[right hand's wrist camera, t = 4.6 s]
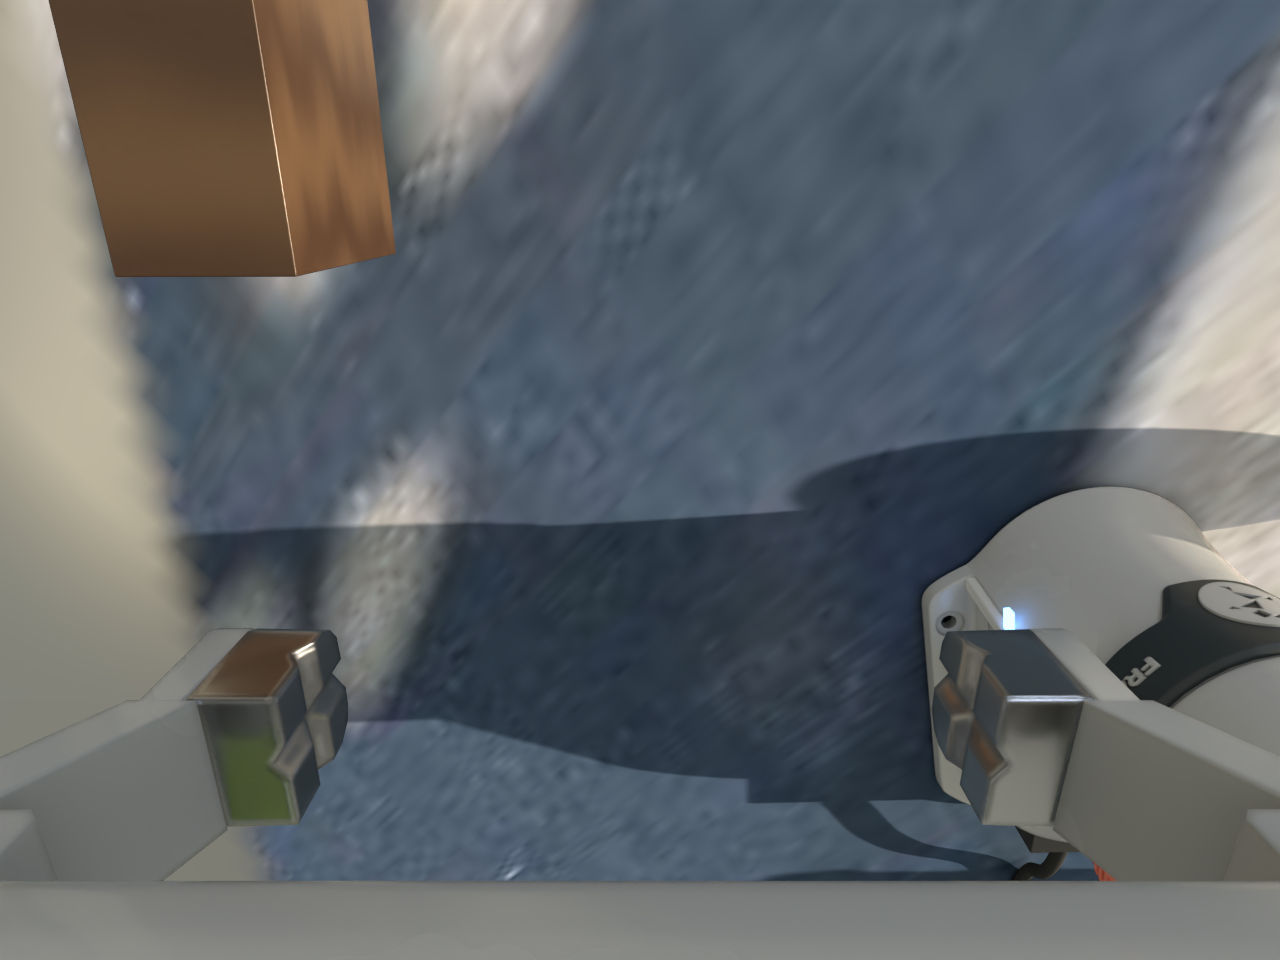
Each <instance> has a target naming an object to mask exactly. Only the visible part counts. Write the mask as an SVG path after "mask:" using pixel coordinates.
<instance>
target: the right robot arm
mask: <svg viewBox="0 0 1280 960" xmlns="http://www.w3.org/2000/svg"><path fill="white" fill-rule="evenodd" d="M922 615H923V627H924V640H925V652H926V665H927V678H928V690H929V703H930V715H931V728H932V741H933V753H934V765H935V775H936V779H937V782H938V783H939V785H940V786H941V788H942V789H943V791H944V792H946V793H947V794H949V795H950V796H952V797H954V798H956V799H957V800H959V801H962V802H964V803H966V804H969V805H971V806H972V808H973V809H974V811H975V813H976V815H977V817H978V818H979V820H980V822H981V824H982V825H1013V826H1015V827H1016V829H1017V830H1018V832H1019V834H1020V835H1021V837H1022V839H1023V841H1024V842H1025V844H1026V846H1027V847H1028V849H1029V851H1030V852H1031V853H1038V852H1049V854H1048V856H1047V858H1046V859H1045V861H1044V862H1043V863H1042V864H1041V865H1039V864H1036V863H1031V862H1029V863H1026V864H1025V865H1023V866H1022V867H1021V868H1020V869H1019V870H1018V872H1017V873H1016V874H1015V876H1014V877H1013V879H1012V881H164V880H165V879H166V878H167V877H169V876H170V875H171V874H172V873H174V872H175V871H176V870H177V869H179V868H180V867H181V866H183V865H184V864H185V863H186V862H188V861H189V860H190V859H191V858H193V857H194V856H195V855H197V854H198V853H199V852H200V851H202V850H203V849H204V848H205V847H207V846H208V845H209V844H210V843H212V842H213V841H214V840H216V839H217V838H218V837H219V836H221V835H222V834H223V833H225V832H226V831H227V827H230V826H265V825H298V824H299V822H300V820H301V819H302V817H303V815H304V813H305V811H306V809H307V808H308V806H309V804H310V802H311V800H312V799H313V797H314V795H315V793H316V791H317V790H318V788H319V786H320V780H319V774H318V769H320V768H322V767H323V766H325V765H326V764H328V763H329V762H331V761H332V760H334V758H335V756H336V754H337V753H338V751H339V749H340V747H341V745H342V743H343V738H344V734H345V730H346V726H347V721H348V701H347V694H346V687H345V686H344V685H343V684H342V683H341V682H340V681H339V680H338V679H337V678H336V677H335V676H334V675H333V674H332V672H333V670H334V669H335V667H336V666H337V664H338V662H339V661H340V659H341V657H340V652H339V647H338V642H337V637H336V636H335V635H334V634H333V633H332V632H331V631H330V630H301V629H253V628H227V629H216V630H211V631H209V632H208V633H207V634H206V635H205V636H204V637H203V638H202V639H201V640H200V641H199V642H198V643H197V644H196V645H195V646H194V647H193V648H192V649H191V650H190V651H189V652H188V653H187V654H186V655H185V656H184V657H183V658H182V659H181V660H180V661H179V662H178V663H177V664H176V665H175V666H174V667H173V668H172V669H171V670H170V671H169V672H168V673H167V674H166V675H165V676H164V677H163V678H162V679H161V680H160V681H159V682H158V683H157V684H156V685H155V686H154V687H153V688H152V689H151V690H150V691H149V692H148V693H147V694H146V695H145V696H144V697H143V698H142V699H141V700H127V701H125V702H122V703H120V704H118V705H116V706H113V707H111V708H109V709H107V710H104V711H102V712H100V713H98V714H96V715H93V716H91V717H89V718H86V719H84V720H82V721H80V722H78V723H75V724H73V725H71V726H69V727H66V728H64V729H62V730H60V731H57V732H55V733H53V734H51V735H48V736H46V737H44V738H42V739H39V740H37V741H35V742H33V743H30V744H28V745H26V746H24V747H21V748H19V749H17V750H15V751H13V752H10V753H8V754H6V755H4V756H1V757H0V960H1280V599H1279V598H1278V597H1276V596H1274V595H1272V594H1270V593H1268V592H1266V591H1264V590H1262V589H1260V588H1258V587H1255V586H1254V585H1253V584H1251V583H1250V582H1249V581H1248V580H1247V579H1245V578H1244V577H1243V576H1242V575H1241V574H1240V573H1239V572H1238V571H1237V570H1236V569H1235V568H1234V567H1232V566H1231V565H1230V564H1229V563H1228V562H1227V561H1226V560H1225V559H1224V558H1223V557H1222V556H1221V555H1220V553H1219V552H1218V551H1217V550H1216V549H1215V548H1214V547H1213V546H1212V545H1211V543H1210V542H1209V541H1208V540H1207V538H1206V537H1205V536H1204V535H1203V533H1202V532H1201V531H1200V529H1199V528H1198V526H1197V525H1196V524H1195V523H1194V521H1193V520H1192V519H1191V518H1190V517H1189V516H1188V515H1187V514H1186V513H1185V512H1184V511H1183V510H1182V509H1180V508H1179V507H1178V506H1176V505H1175V504H1173V503H1172V502H1170V501H1168V500H1166V499H1164V498H1162V497H1160V496H1158V495H1156V494H1153V493H1150V492H1147V491H1143V490H1139V489H1133V488H1127V487H1094V488H1087V489H1081V490H1076V491H1072V492H1069V493H1065V494H1062V495H1059V496H1056V497H1053V498H1051V499H1049V500H1046V501H1044V502H1042V503H1040V504H1038V505H1036V506H1034V507H1032V508H1030V509H1029V510H1027V511H1025V512H1024V513H1022V514H1021V515H1019V516H1018V517H1016V518H1015V519H1014V520H1012V521H1011V522H1010V523H1008V524H1007V525H1006V526H1005V527H1004V528H1003V529H1001V530H1000V531H999V532H998V533H997V534H996V535H995V536H994V537H993V538H992V539H991V540H990V541H989V543H988V544H987V545H986V546H985V547H984V548H983V549H982V550H981V551H980V552H979V554H977V555H976V556H975V557H974V558H973V559H972V560H971V561H970V562H969V563H967V564H966V565H964V566H962V567H960V568H958V569H956V570H954V571H952V572H950V573H948V574H946V575H945V576H943V577H941V578H940V579H938V580H937V581H935V582H934V583H932V584H931V585H930V586H929V587H928V588H927V589H926V590H925V592H924V594H923V597H922ZM946 616H952V617H951V618H950V620H948V621H946V622H942V619H943V618H944V617H946ZM1068 852H1081V853H1082V854H1084V855H1085V856H1086V857H1088V858H1089V859H1090V860H1091V861H1093V864H1094V869H1095V872H1096V874H1097V875H1098V878H1099V880H1100V881H1030V880H1031V879H1032V878H1033V877H1036V878H1040V879H1048V878H1049V877H1051V876H1053V875H1054V874H1055V873H1056V872H1057V871H1058V870H1059V868H1060V867H1061V865H1062V863H1063V861H1064V859H1065V857H1066V855H1067V853H1068Z"/></svg>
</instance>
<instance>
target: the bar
mask: <svg viewBox="0 0 1280 960" xmlns="http://www.w3.org/2000/svg"><path fill="white" fill-rule="evenodd" d="M49 4H50V8H51V12H52V16H53V21H54V25H55V29H56V33H57V37H58V41H59V45H60V50H61V54H62V58H63V62H64V66H65V70H66V75H67V79H68V83H69V87H70V91H71V95H72V99H73V104H74V108H75V112H76V116H77V120H78V124H79V129H80V133H81V137H82V141H83V145H84V149H85V154H86V158H87V162H88V166H89V170H90V174H91V178H92V183H93V187H94V191H95V195H96V199H97V203H98V208H99V212H100V216H101V220H102V224H103V228H104V232H105V237H106V241H107V245H108V249H109V253H110V257H111V262H112V266H113V270H114V274H115V276H116V277H296V276H300V275H305V274H309V273H313V272H318V271H322V270H326V269H331V268H335V267H340V266H344V265H348V264H353V263H357V262H361V261H366V260H370V259H375V258H379V257H383V256H388V255H392V254H395V244H394V235H393V226H392V217H391V208H390V199H389V191H388V182H387V173H386V164H385V155H384V146H383V137H382V128H381V120H380V111H379V102H378V93H377V84H376V75H375V66H374V57H373V49H372V40H371V31H370V22H369V13H368V4H367V0H49Z"/></svg>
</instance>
